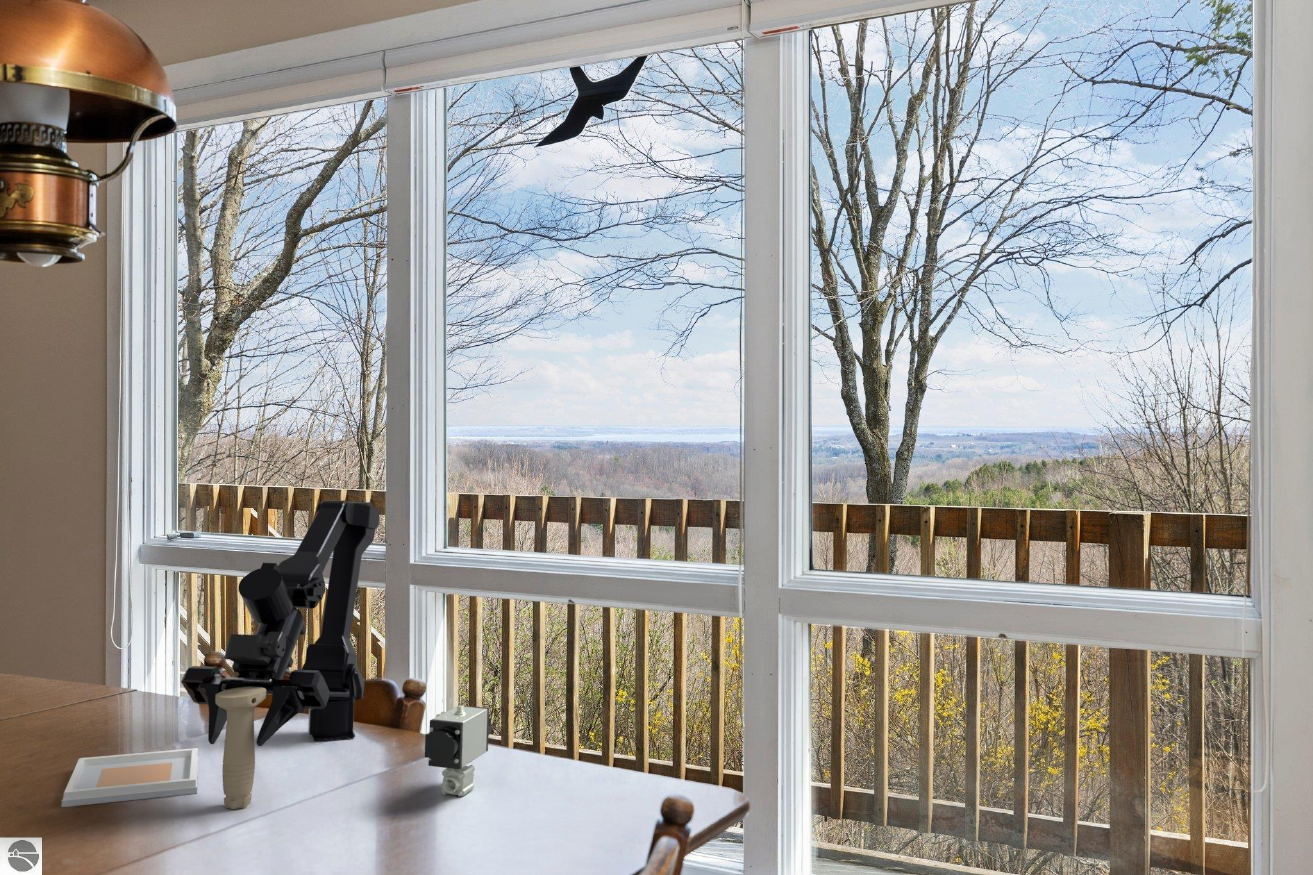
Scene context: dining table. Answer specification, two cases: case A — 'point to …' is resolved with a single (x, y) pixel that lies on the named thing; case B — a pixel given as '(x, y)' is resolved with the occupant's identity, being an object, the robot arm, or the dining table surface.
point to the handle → (239, 743)
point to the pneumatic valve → (458, 745)
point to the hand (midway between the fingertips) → (234, 743)
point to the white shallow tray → (132, 777)
